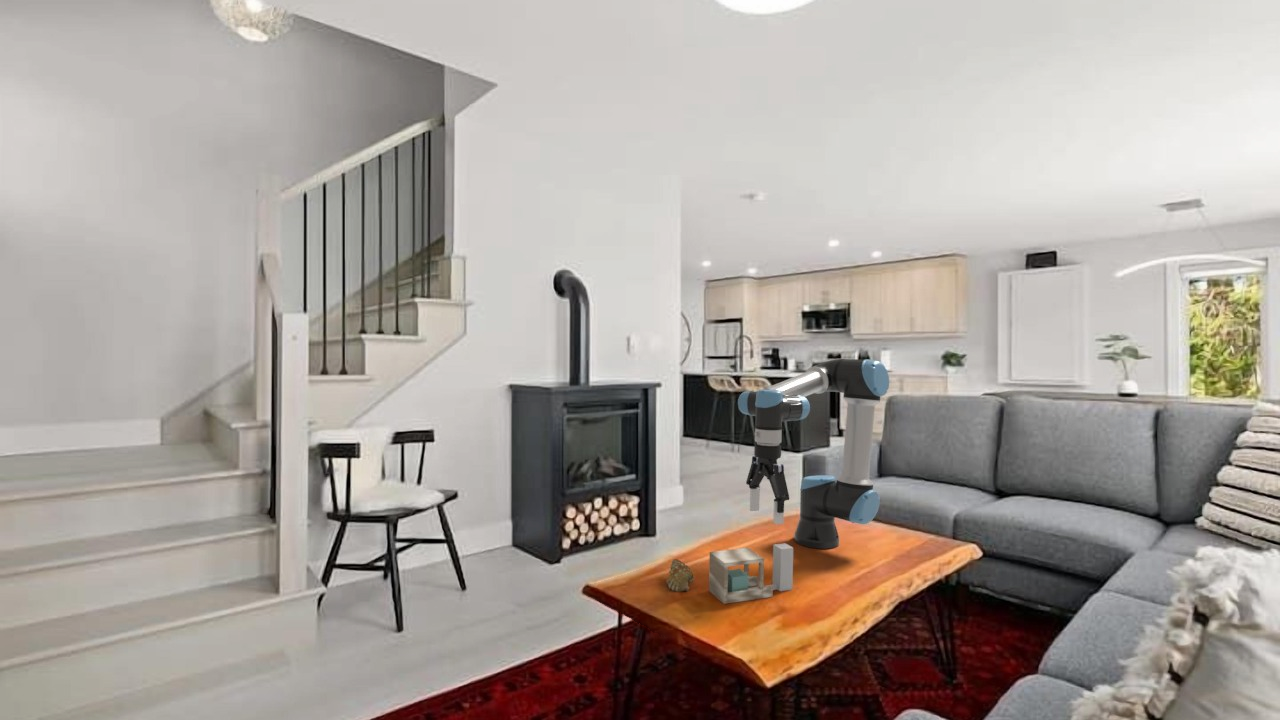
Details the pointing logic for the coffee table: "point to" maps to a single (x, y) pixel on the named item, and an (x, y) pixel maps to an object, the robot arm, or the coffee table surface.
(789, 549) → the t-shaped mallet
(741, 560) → the shelf
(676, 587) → the seashell
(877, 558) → the coffee table surface
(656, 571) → the coffee table surface
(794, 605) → the coffee table surface
